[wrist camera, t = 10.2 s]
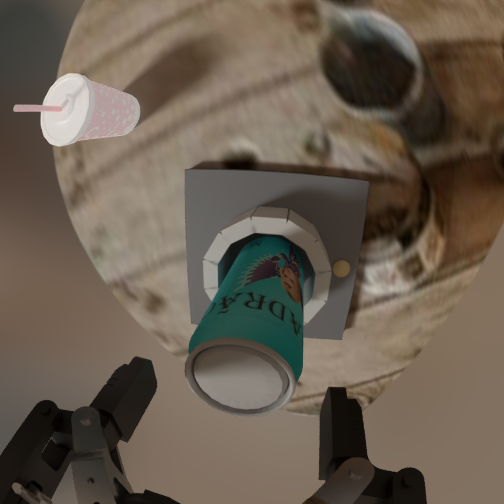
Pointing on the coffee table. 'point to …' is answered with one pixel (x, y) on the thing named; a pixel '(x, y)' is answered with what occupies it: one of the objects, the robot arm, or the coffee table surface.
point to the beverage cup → (84, 111)
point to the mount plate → (277, 234)
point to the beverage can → (252, 333)
